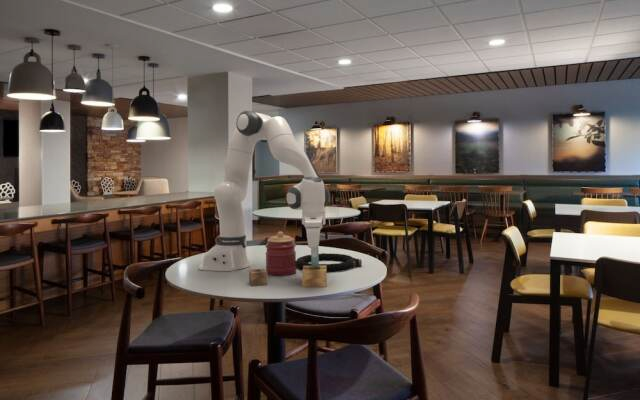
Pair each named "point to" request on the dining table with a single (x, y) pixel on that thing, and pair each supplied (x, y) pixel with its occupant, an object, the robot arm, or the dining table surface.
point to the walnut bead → (258, 277)
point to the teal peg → (315, 260)
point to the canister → (280, 255)
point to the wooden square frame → (314, 276)
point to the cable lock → (345, 265)
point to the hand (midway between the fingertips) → (314, 255)
